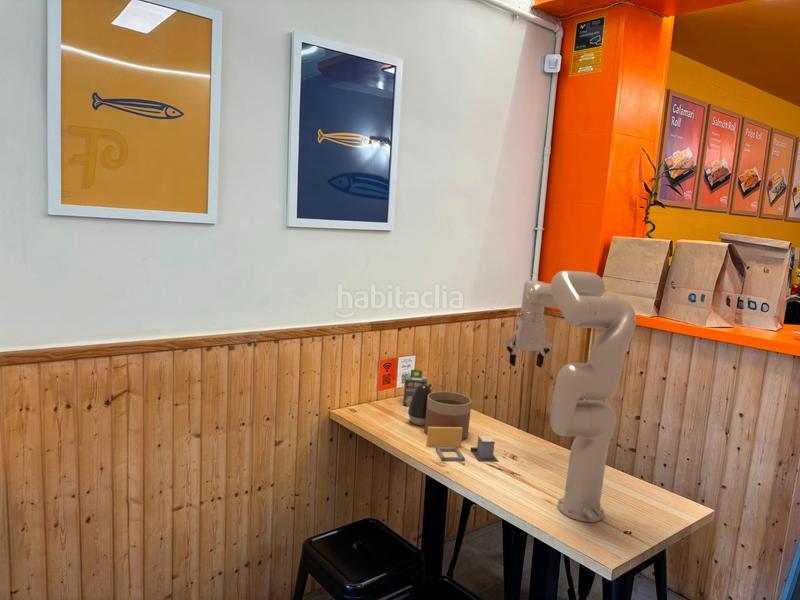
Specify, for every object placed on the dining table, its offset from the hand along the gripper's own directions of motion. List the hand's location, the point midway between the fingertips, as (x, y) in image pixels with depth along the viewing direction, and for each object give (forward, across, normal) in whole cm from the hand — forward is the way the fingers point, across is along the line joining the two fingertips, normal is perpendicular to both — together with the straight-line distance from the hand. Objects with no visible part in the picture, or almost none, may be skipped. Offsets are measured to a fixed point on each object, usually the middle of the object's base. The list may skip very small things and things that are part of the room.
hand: (525, 365), depth 201 cm
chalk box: (+30, -28, +45) cm, 61 cm away
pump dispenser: (+30, -30, +22) cm, 48 cm away
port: (+30, -26, -7) cm, 40 cm away
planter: (+30, -23, +11) cm, 39 cm away
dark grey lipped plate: (+30, -14, -9) cm, 34 cm away
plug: (+29, -14, -9) cm, 34 cm away
